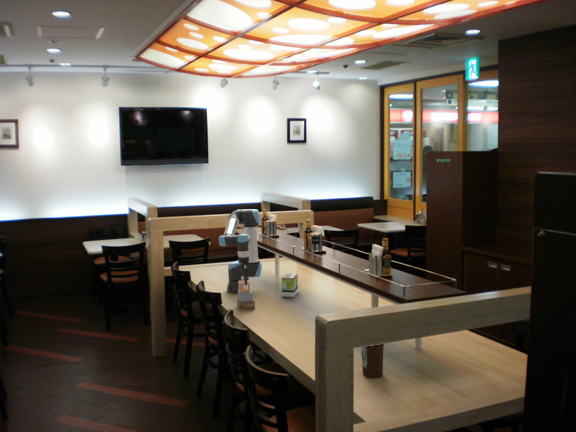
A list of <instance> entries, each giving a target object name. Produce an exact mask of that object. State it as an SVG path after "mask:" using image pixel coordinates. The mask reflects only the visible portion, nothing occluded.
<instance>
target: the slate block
mask: <svg viewBox="0 0 576 432" xmlns="http://www.w3.org/2000/svg"><path fill="white" fill-rule="evenodd" d="M253 294H254V293H253V291H252V290H251V289H250V292H246V293H240V292H239V290H238V293H237V298H238V299H239V301H240V302H246V301H253V299H254V296H253Z"/></svg>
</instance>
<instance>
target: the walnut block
mask: <svg viewBox="0 0 576 432" xmlns="http://www.w3.org/2000/svg"><path fill="white" fill-rule="evenodd" d="M236 306H237V309H238V311H239V312H241V311H250V310H251V311H253V310H256V301H255V299H254V298H253V301H246V302H240V301H239V299H238V297H237V298H236Z"/></svg>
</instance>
